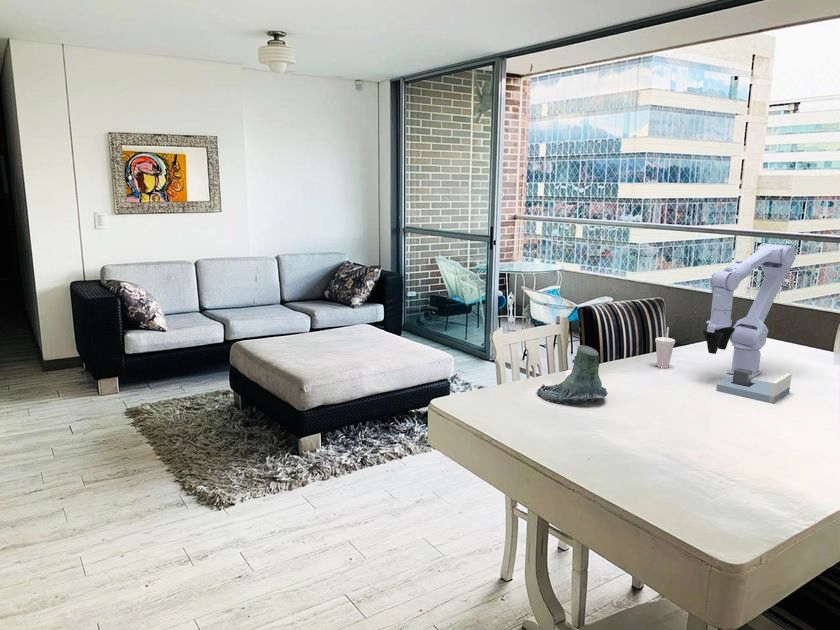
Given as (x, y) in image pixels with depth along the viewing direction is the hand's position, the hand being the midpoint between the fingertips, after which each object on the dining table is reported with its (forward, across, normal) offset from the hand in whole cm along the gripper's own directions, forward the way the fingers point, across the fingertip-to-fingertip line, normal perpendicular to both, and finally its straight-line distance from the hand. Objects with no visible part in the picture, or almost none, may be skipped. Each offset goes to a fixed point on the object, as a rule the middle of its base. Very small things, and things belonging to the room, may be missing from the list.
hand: (717, 351), depth 203 cm
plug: (+10, +4, +10) cm, 14 cm away
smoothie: (+10, -2, -18) cm, 20 cm away
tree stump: (+10, +48, -22) cm, 54 cm away
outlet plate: (+9, +4, +13) cm, 17 cm away
